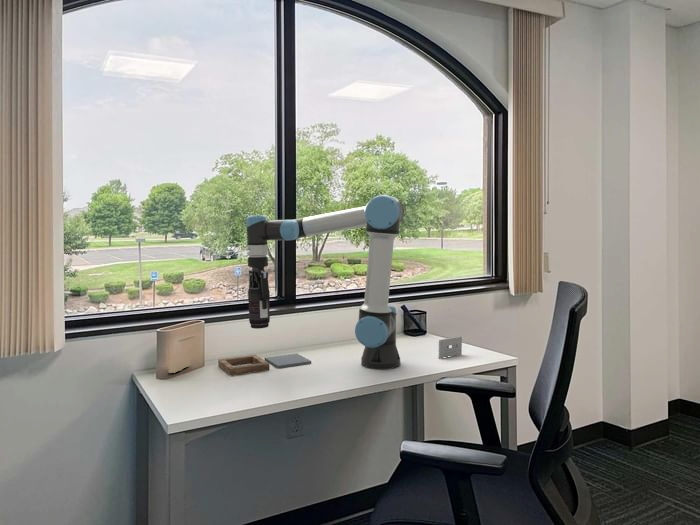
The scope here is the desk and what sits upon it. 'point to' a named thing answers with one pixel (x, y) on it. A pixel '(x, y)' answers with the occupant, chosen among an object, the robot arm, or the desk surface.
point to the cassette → (446, 351)
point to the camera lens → (257, 309)
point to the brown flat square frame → (256, 367)
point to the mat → (287, 360)
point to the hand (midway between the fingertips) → (259, 315)
